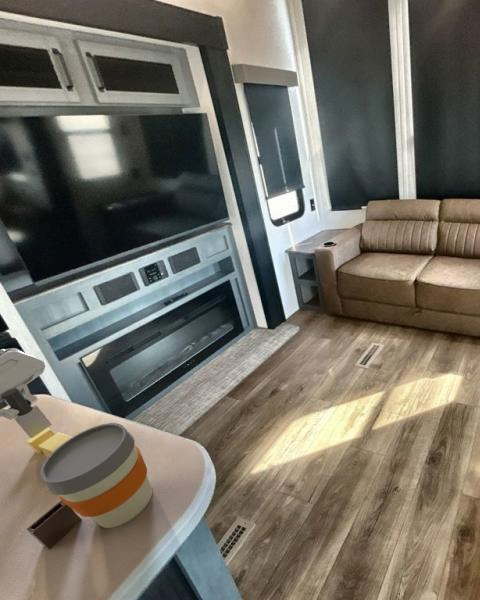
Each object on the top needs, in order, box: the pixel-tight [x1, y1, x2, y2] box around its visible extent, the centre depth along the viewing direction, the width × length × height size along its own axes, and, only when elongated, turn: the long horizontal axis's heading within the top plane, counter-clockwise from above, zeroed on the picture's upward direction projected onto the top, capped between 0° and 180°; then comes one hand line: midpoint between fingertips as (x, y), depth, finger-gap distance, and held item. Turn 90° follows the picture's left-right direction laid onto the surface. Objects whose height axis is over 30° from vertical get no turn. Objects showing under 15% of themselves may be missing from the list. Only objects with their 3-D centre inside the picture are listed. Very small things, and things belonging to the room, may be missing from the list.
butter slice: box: [25, 427, 56, 454], centre depth 84 cm, size 2×4×4 cm, turn 158°
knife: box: [1, 388, 53, 439], centre depth 79 cm, size 4×3×12 cm, turn 159°
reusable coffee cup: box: [39, 422, 153, 529], centre depth 65 cm, size 13×12×15 cm
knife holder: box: [25, 500, 82, 550], centre depth 64 cm, size 5×2×5 cm, turn 159°
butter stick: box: [39, 432, 73, 458], centre depth 81 cm, size 7×4×4 cm, turn 68°
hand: (24, 408), depth 78 cm, fingers closed on knife, 2 cm apart
